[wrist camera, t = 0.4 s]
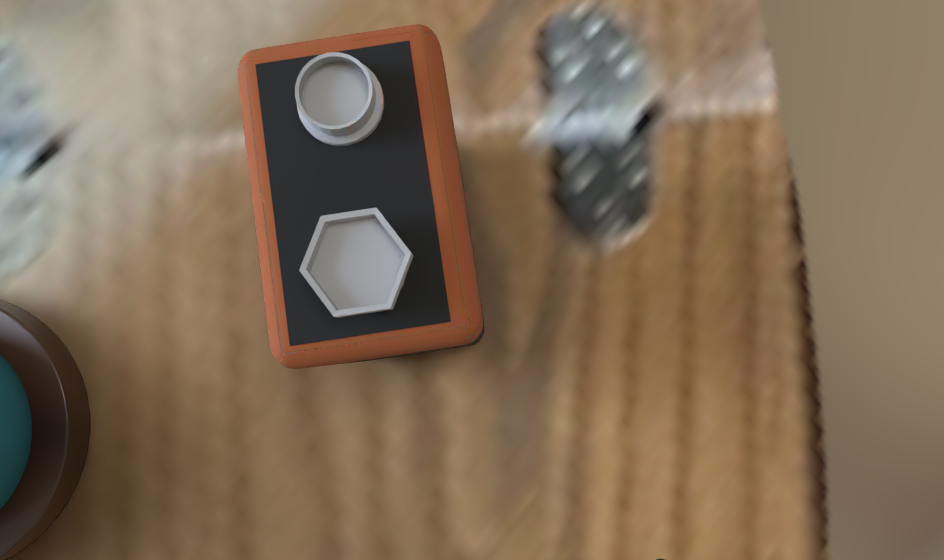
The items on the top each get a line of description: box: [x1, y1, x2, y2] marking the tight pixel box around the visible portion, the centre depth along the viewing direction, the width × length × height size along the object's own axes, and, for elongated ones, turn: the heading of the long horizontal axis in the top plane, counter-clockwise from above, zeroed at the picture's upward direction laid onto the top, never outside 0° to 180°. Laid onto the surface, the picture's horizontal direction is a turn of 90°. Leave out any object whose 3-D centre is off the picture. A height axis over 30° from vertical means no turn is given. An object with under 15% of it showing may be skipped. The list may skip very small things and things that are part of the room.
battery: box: [238, 25, 484, 369], centre depth 18 cm, size 4×7×10 cm, turn 9°
